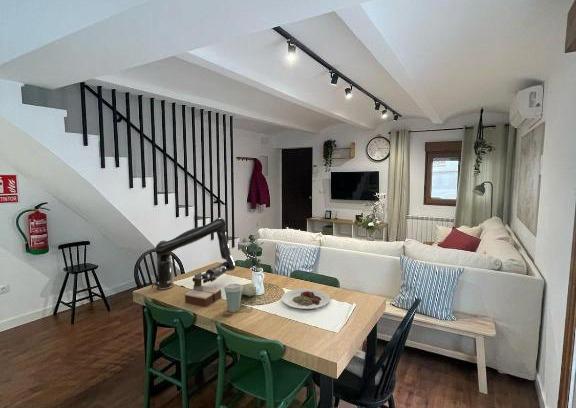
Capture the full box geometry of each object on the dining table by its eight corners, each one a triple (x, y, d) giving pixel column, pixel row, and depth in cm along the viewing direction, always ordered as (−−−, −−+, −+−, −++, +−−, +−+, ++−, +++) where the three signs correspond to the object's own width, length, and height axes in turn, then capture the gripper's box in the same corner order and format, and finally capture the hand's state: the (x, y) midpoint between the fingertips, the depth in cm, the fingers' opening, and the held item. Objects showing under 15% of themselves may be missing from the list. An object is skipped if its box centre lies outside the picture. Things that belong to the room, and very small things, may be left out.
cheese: (240, 303, 198) (258, 288, 196) (234, 293, 201) (252, 279, 199) (250, 301, 213) (267, 287, 211) (245, 291, 215) (261, 278, 213)
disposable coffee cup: (222, 308, 186) (221, 284, 185) (239, 304, 192) (238, 280, 190) (228, 315, 177) (227, 289, 176) (246, 310, 183) (245, 286, 181)
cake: (185, 302, 195) (184, 293, 195) (201, 293, 209) (201, 285, 209) (205, 307, 189) (205, 297, 188) (221, 297, 203) (220, 288, 202)
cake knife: (193, 299, 201) (192, 278, 200) (195, 297, 203) (194, 276, 202) (202, 300, 198) (200, 279, 197) (204, 299, 200) (203, 278, 199)
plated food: (288, 314, 178) (287, 308, 177) (277, 294, 207) (277, 289, 206) (337, 307, 184) (337, 302, 184) (320, 289, 213) (320, 284, 213)
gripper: (205, 266, 217) (189, 273, 202) (222, 268, 211) (206, 276, 197) (205, 277, 218) (189, 285, 203) (222, 279, 212) (207, 288, 197)
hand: (198, 280), depth 200 cm, fingers open, 8 cm apart
